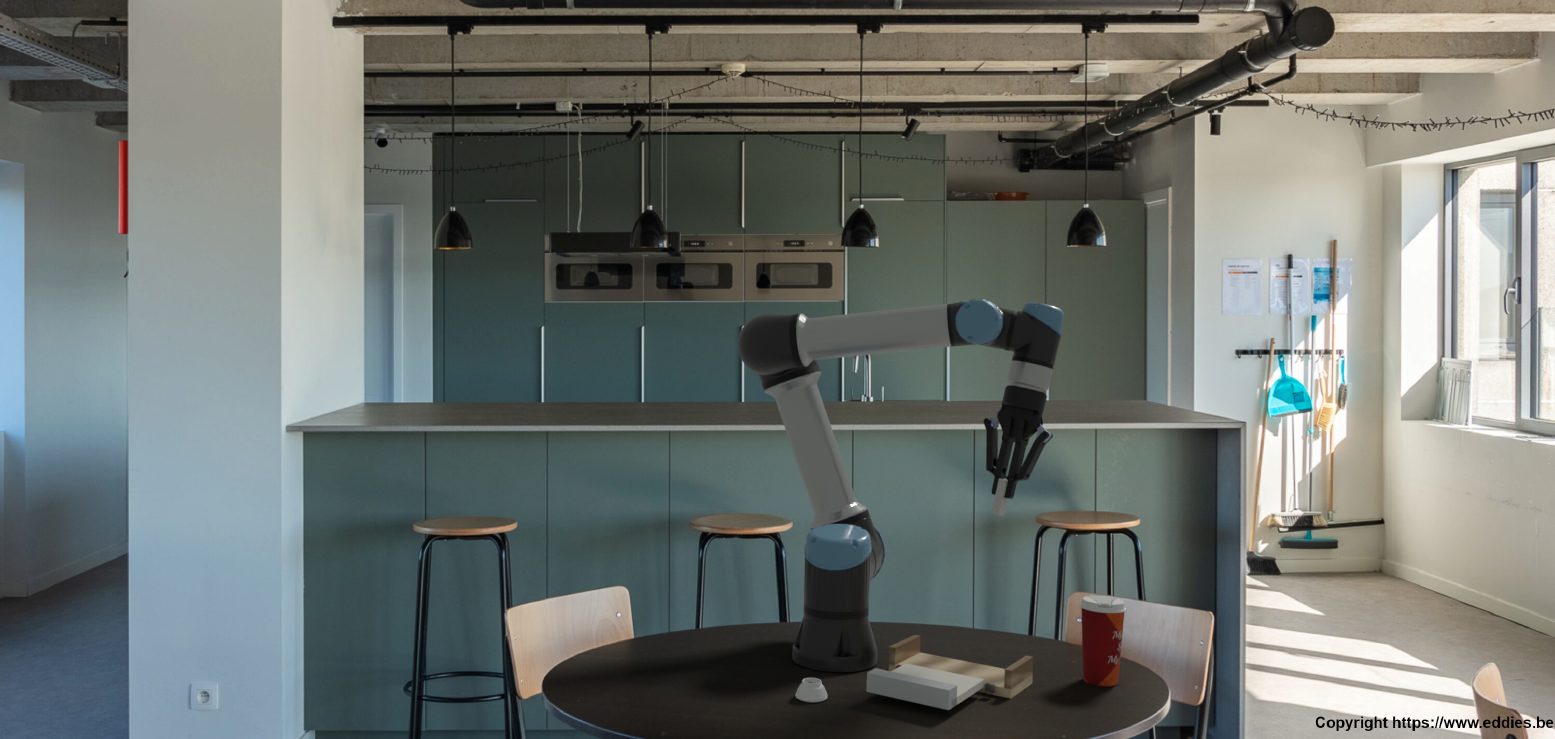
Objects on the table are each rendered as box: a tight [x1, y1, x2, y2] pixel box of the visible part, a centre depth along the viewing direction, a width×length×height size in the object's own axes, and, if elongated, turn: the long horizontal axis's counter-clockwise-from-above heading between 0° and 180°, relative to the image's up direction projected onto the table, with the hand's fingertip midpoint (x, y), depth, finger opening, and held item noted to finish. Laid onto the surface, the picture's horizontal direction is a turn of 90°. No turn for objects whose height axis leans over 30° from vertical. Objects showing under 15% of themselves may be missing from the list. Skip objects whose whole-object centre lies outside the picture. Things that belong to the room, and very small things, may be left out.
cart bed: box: [888, 634, 1034, 700], centre depth 176 cm, size 22×12×4 cm, turn 57°
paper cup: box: [1079, 595, 1128, 688], centre depth 177 cm, size 8×8×14 cm
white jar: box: [795, 677, 828, 704], centre depth 164 cm, size 5×3×5 cm
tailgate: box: [866, 663, 984, 711], centre depth 165 cm, size 14×3×14 cm
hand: (997, 514), depth 188 cm, fingers closed
